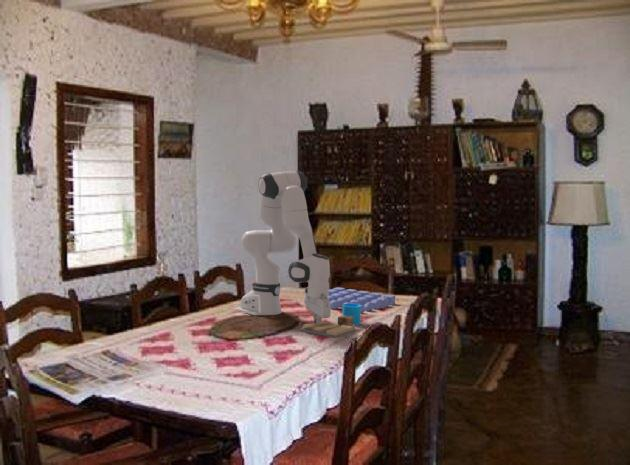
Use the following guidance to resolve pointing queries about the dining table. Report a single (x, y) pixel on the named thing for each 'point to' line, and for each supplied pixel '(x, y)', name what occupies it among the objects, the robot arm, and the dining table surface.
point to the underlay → (331, 331)
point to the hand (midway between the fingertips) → (317, 323)
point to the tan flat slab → (320, 326)
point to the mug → (353, 312)
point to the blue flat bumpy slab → (358, 299)
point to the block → (345, 320)
